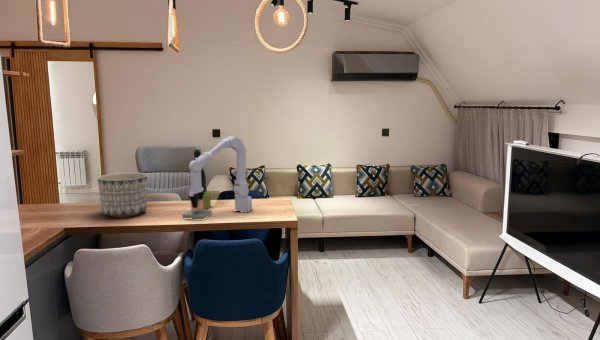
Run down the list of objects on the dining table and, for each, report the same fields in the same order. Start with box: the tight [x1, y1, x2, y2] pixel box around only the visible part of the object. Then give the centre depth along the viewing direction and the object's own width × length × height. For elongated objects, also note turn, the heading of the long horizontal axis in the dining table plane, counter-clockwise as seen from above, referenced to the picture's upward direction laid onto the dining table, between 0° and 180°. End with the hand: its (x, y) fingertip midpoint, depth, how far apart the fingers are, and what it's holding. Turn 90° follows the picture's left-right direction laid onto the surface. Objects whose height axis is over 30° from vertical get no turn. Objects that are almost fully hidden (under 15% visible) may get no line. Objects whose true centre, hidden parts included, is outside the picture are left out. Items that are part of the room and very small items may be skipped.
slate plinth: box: [182, 209, 213, 220], centre depth 245 cm, size 12×12×3 cm
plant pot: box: [202, 191, 213, 210], centre depth 265 cm, size 9×9×9 cm
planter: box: [97, 172, 148, 218], centre depth 249 cm, size 26×26×22 cm
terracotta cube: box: [190, 199, 204, 210], centre depth 244 cm, size 5×5×5 cm
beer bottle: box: [189, 148, 208, 192], centre depth 283 cm, size 10×10×33 cm
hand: (197, 206), depth 244 cm, fingers closed on terracotta cube, 5 cm apart
